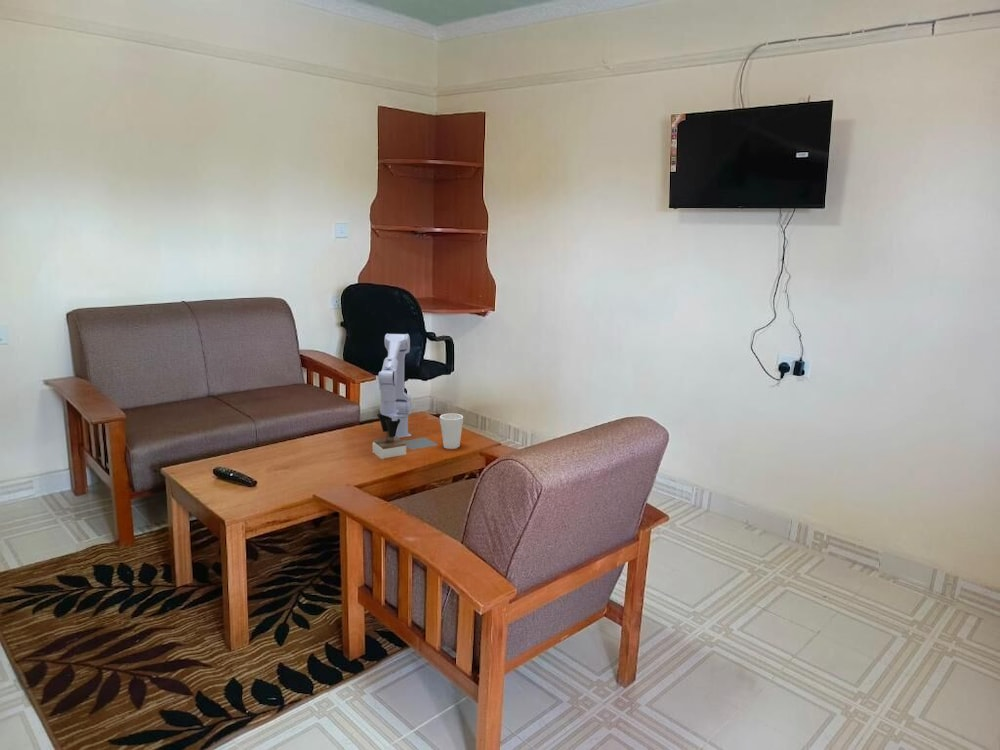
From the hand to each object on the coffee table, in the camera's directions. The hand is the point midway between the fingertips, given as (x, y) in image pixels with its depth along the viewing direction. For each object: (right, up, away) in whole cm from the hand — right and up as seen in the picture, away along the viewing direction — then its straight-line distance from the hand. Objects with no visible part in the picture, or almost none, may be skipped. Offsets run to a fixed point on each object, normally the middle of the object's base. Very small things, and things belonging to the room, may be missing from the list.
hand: (389, 433), depth 276 cm
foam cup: (+24, -7, +10) cm, 27 cm away
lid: (0, -4, +1) cm, 4 cm away
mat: (+10, -5, +14) cm, 18 cm away
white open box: (0, -8, +2) cm, 8 cm away
